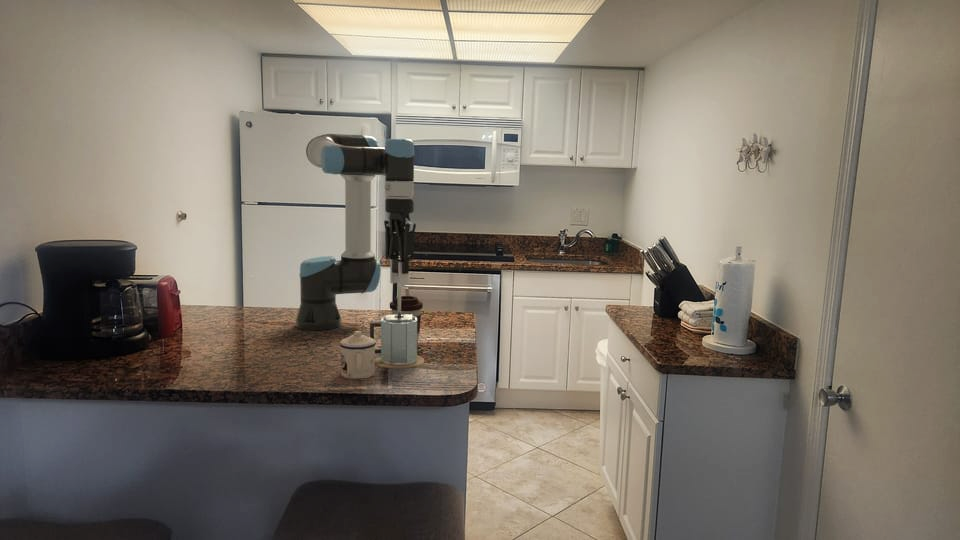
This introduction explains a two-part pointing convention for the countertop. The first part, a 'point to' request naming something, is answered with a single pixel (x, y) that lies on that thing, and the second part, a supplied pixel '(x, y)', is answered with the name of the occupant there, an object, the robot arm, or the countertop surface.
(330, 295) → the robot arm
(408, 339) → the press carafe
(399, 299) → the plunger
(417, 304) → the coffee cup
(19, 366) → the countertop surface
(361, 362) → the teacup with lid
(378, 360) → the cork trivet
